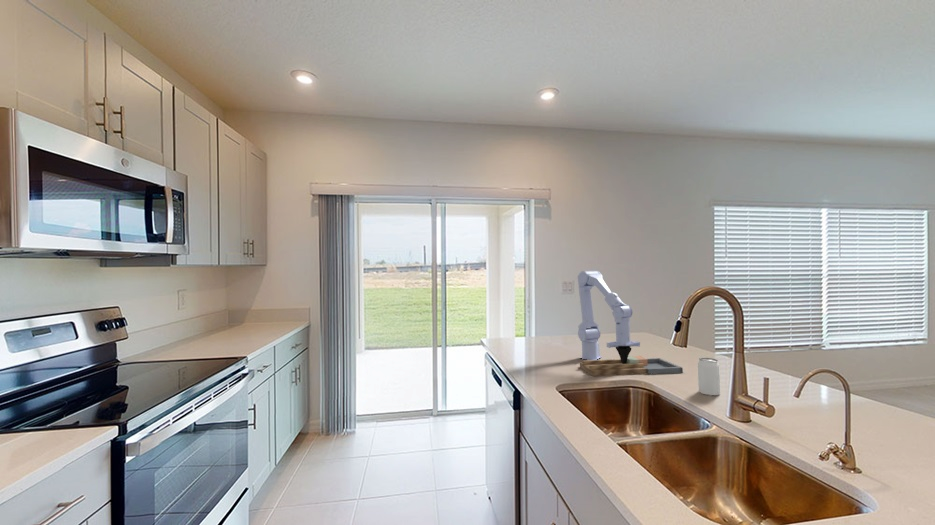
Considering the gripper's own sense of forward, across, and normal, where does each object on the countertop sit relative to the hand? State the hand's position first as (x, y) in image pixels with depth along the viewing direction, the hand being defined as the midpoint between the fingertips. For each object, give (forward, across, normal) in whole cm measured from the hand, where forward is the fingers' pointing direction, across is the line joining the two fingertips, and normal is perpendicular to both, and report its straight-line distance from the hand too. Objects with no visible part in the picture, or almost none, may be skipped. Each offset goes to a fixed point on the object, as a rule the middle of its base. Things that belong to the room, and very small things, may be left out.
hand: (623, 363), depth 162 cm
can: (+3, +15, -32) cm, 36 cm away
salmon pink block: (+1, +7, 0) cm, 7 cm away
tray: (+3, +14, 0) cm, 14 cm away
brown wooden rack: (+3, -6, 0) cm, 6 cm away
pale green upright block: (+1, +3, 0) cm, 3 cm away
